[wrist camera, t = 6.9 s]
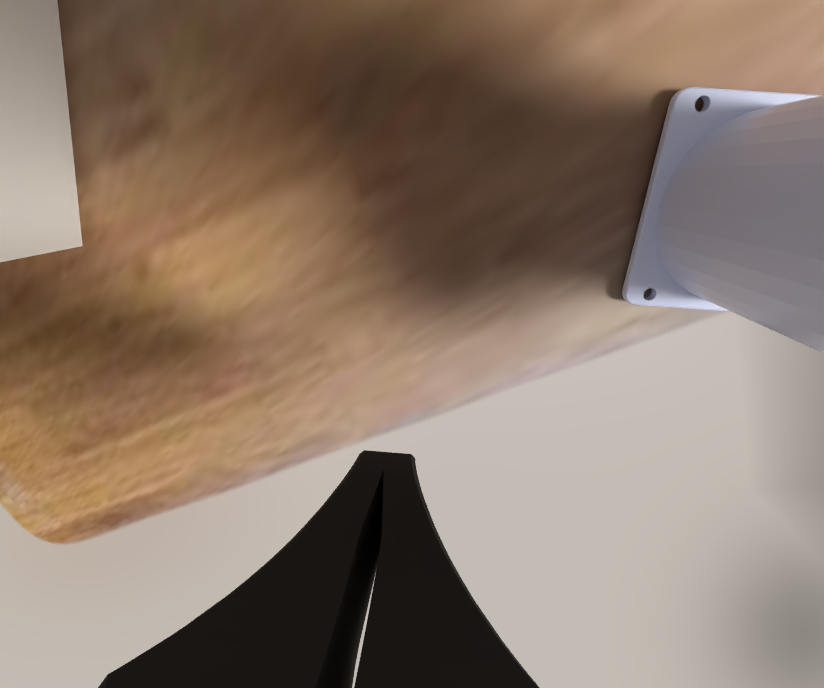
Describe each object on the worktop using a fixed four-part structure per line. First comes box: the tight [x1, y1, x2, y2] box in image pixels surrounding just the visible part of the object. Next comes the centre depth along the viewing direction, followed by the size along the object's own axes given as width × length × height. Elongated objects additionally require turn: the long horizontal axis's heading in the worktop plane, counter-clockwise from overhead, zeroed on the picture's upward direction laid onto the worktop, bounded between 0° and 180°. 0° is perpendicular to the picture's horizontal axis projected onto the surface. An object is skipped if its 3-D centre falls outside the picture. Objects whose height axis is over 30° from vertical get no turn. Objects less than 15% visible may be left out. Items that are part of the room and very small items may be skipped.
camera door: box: [0, 0, 83, 262], centre depth 15 cm, size 10×1×4 cm, turn 169°
